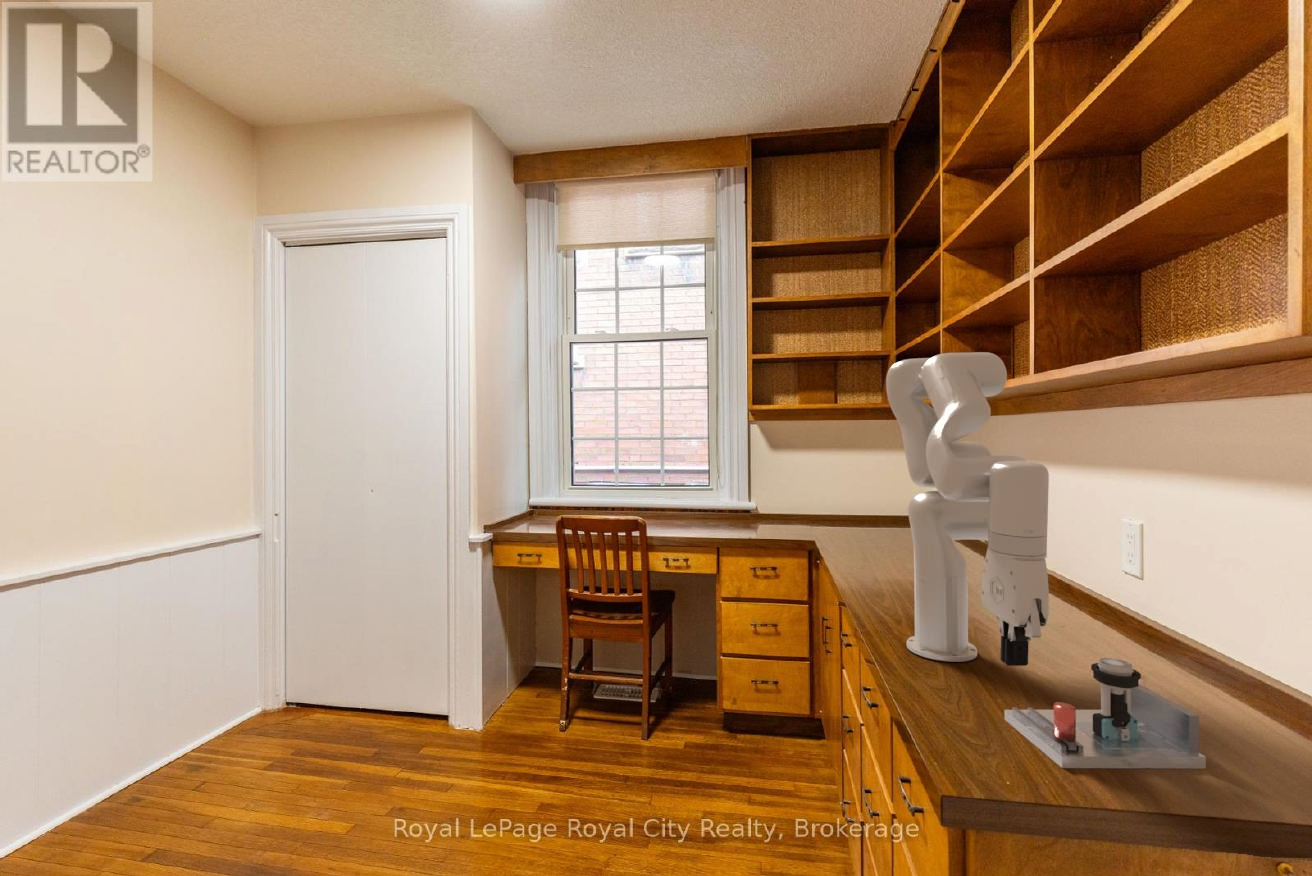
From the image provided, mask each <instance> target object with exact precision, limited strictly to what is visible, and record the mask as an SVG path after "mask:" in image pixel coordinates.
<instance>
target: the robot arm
mask: <svg viewBox="0 0 1312 876" xmlns="http://www.w3.org/2000/svg"><path fill="white" fill-rule="evenodd" d="M1007 373H1008V372H1007V368H1006V365H1005V363H1004V361H1003V360H1002V359H1001V357H999V356H998V355H996V354H994V353H991V352H988V351H987V352H986V351H985V352H984V351H983V352H982V351H979V352H978V351H977V352H975V351H973V352H945V353H939V354H936V355H934V356H932V357H921V358H920V357H918V358H908V359H907V358H906V359H902V360H900V361H897V362H895V363H893V364H892V365H891V366H890V368H889V369H888V371H887V374H886V379H885V383H886V384H885V385H886V395H887V400H888V403H889V406H890V410H891V411H892V413H893V415H894V417H895V419H896V421H897V423H898V425H899V427H900V432H901V437H902V442H903V447H904V448H903V449H904V454H905V458H906V459H905V460H906V465H907V469H908V474H909V476H910V479H911V481H912V482H913V483H914V484H915V485H916V486H919V487H922V488H933V489H934V488H936V490H928V491H924V492H920V493H917V494H916V495H915V496H913V497H912V499H910V501H909V504H908V508H907V509H908V510H907V513H908V520H909V526H910V531H911V537H912V545H913V548H912V549H913V570H914V571H913V574H914V575H913V576H914V577H913V578H914V579H913V580H914V581H913V582H914V583H913V585H914V590H913V591H914V596H913V597H914V623H913V624H914V635H912V636H910V637H909V638H908V639H906V647H907V649H908V650H909V651H910V652H911V653H913V654H915V655H917V656H920V657H923V658H925V659H926V658H927V659H931V660H934V661H939V662H940V661H941V662H951V663H952V662H953V663H955V662H956V663H960V662H961V663H962V662H969V661H972V660H974V659H976V658H977V657H978V649H977V647H976V646H975V645H973V644H972V643H970V642H969V610H968V609H969V607H968V606H969V602H968V600H969V599H968V598H969V597H968V593H969V592H968V590H969V588H968V581H969V580H968V563H967V560H966V558H965V556H964V555H963V553H961V551H960V550H959V549H958V548H957V546H956V545H955V544H954V541H961V540H973V541H974V540H975V541H976V540H977V541H978V540H979V541H980V540H985V541H986V540H987V549H986V554H985V558H984V564H983V572H982V584H981V604H982V606H983V607H984V609H986V610H987V611H988V612H990V613H992V614H993V615H994V616H996V617H997V621H998V631H999V634H1000V661H1001V662H1003V663H1004V664H1005V665H1006V666H1008V667H1011V666H1013V667H1014V666H1016V667H1017V666H1018V667H1021V666H1022V667H1023V666H1028V664H1029V642H1031V640H1032V638H1039V639H1040V638H1041V637H1042V630H1041V627H1045V626H1047V624H1048V622H1049V614H1050V610H1049V609H1050V593H1049V592H1050V591H1049V576H1048V569H1047V562H1046V558H1047V557H1048V556H1047V554H1048V553H1047V552H1048V551H1047V550H1048V525H1049V523H1048V515H1049V512H1048V511H1049V486H1050V485H1049V481H1050V478H1049V470H1048V468H1047V467H1046V465H1043V464H1042V463H1038V462H1035V461H1034V462H1033V461H1027V460H1025V458H1022V457H1020V456H1015V455H993V454H992V452H991V451H990V450H989V448H988V447H987V446H986V445H984V444H983V443H980V442H978V441H969V440H968V441H963V440H962V441H961V440H960V439H962V438H964V437H967V436H969V435H971V434H974V433H976V432H977V431H979V430H981V429H982V428H984V426H985V425H986V424H987V423H988V421H989V420H990V417H991V414H992V413H991V410H992V409H991V407H990V405H989V404H990V403H988V400H987V398H988V397H989V398H990V397H995V396H997V395H998V394H1000V393H1002V391H1003V390H1004V389H1005V387H1006V383H1007V378H1008V374H1007ZM924 399H929V402H930V404H931V406H930V405H929V404H927V402H925V401H924ZM959 440H960V441H959Z"/></svg>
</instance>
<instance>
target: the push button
mask: <svg viewBox="0 0 1312 876" xmlns="http://www.w3.org/2000/svg"><path fill="white" fill-rule="evenodd" d="M1090 668H1091V669H1090V670H1091V671H1092V673H1093V674H1092V677H1093V679H1095V680H1096V681H1097V682H1099V684H1100V710H1101V711H1100V713H1094V714H1093V732H1094V733H1096V734H1097V735H1099V736H1101V737H1102V738H1104V739H1106V740H1123V741H1129V740H1130V739H1137V737H1138V733H1142V732H1145V731H1144V730H1142V729H1138V727H1139V726H1145V724H1143V723H1141V722H1138V720H1137V719H1135V718H1133V717H1131V716H1130V715H1132V712H1131V689H1132V688H1135V687H1138V686H1139V685H1140V684H1139V680H1141V678H1142V675H1141V672H1139V671H1138V670H1136V669H1134V668H1133V665H1132V664H1131V663H1130V662H1128V661H1125V660H1121V659H1119V658H1112V657H1111V658H1110V657H1102V658H1099V660H1098V662H1094V663H1092V664H1091V665H1090ZM1140 724H1141V725H1140ZM1138 730H1140V731H1138Z"/></svg>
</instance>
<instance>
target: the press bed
mask: <svg viewBox="0 0 1312 876" xmlns="http://www.w3.org/2000/svg"><path fill="white" fill-rule="evenodd" d="M1100 711H1101V709H1076V740H1075V742H1076V749H1077V750H1068V749H1067V748H1066V746H1065V745H1064V744H1063V743H1062V742H1060V741H1059V740H1058V739H1056V738H1055V737H1054V709H1034V708H1033V707H1032V706H1031V707H1027V709H1019V708H1018V707H1016V706H1014V707H1012V708H1011V709H1004V720H1005V722H1007V723H1008V724H1009V725H1010V726H1012V727H1013V728H1014V729H1015V730H1016V731H1018V733H1020V734H1021V735H1023V737H1025V738H1026V739H1027V740H1028V741H1029V742H1030V743H1032V744H1033V745H1034V746H1035V747H1036V748H1037V749H1039V750H1040V751H1041V752H1042V753H1043V754H1045V755H1046V756H1047V757H1048V758H1049V759H1051V761H1052V762H1054V763H1056V765H1058V766H1059V767H1060V768H1061V769H1180V770H1181V769H1197V770H1199V769H1200V770H1201V769H1207V768H1206V767H1207V763H1206V762H1207V758H1206V757H1207V756H1205V755H1204V754H1202V753H1200V735H1199V734H1200V731H1199V730H1200V728H1199V727H1200V726H1199V725H1200V724H1199V715H1198V714H1197V713H1195V712H1193V711H1191V710H1188V709H1187V708H1185V707H1183V706H1181V705H1179V704H1178V703H1175V702H1174V701H1172V700H1169V699H1168V698H1166V697H1164V696H1162V695H1160V694H1158V693H1157V692H1155V691H1152V690H1151V689H1149V688H1147V687H1145V686H1144V685H1142V684H1139V686H1138V687H1135V688H1132V689H1131V712H1132V715H1130V716H1131V717H1133V718H1135V719H1137V720H1138V722H1141V723H1143V724H1145V726H1139V727H1138V729H1142V730H1144V731H1145V732H1142V733H1138V737H1137V739H1130V740H1129V741H1123V740H1106V739H1104V738H1102V737H1101V736H1099V735H1097V734H1096V733H1094V732H1093V714H1094V713H1100ZM1140 725H1141V724H1140ZM1138 731H1140V730H1138Z"/></svg>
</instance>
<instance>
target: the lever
mask: <svg viewBox="0 0 1312 876" xmlns="http://www.w3.org/2000/svg"><path fill="white" fill-rule="evenodd" d="M1053 710H1054V737H1055V738H1056V739H1058V740H1059V741H1060V742H1062V743H1063V744H1064V745H1065V746H1066V748H1067V749H1068V750H1077V749H1076V742H1075V740H1076V710H1077V709H1076V707H1075V705H1072V704H1070V703H1066V702H1064V701H1063V702H1062V701H1060V702H1059V701H1056V702H1054V703H1053Z"/></svg>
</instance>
